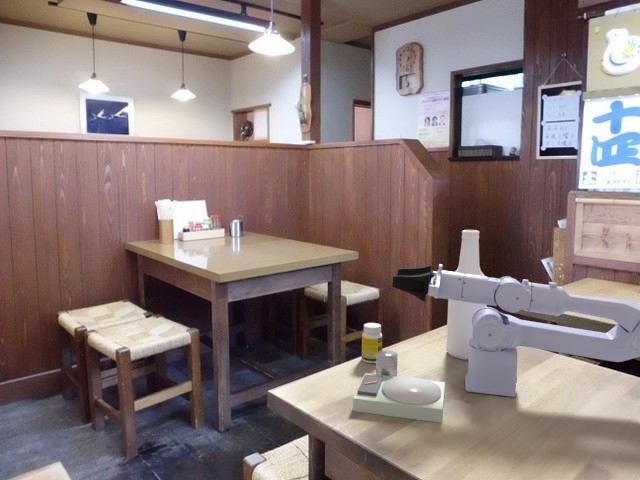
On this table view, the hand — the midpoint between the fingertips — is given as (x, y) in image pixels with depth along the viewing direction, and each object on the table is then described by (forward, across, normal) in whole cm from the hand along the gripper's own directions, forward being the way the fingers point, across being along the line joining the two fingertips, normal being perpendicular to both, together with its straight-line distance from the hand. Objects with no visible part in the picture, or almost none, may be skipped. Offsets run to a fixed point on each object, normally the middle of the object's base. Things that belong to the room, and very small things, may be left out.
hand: (395, 277), depth 107 cm
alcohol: (-17, -18, +20) cm, 32 cm away
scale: (-5, +12, +21) cm, 25 cm away
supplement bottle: (+4, -8, +22) cm, 24 cm away
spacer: (-1, +3, +22) cm, 22 cm away
